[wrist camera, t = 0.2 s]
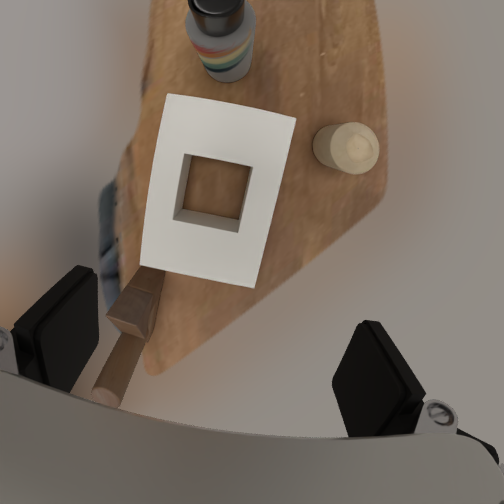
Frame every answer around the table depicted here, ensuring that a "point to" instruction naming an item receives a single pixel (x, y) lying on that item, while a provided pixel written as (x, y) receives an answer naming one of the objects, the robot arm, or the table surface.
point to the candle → (347, 147)
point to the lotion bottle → (222, 36)
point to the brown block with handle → (129, 333)
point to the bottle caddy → (202, 224)
